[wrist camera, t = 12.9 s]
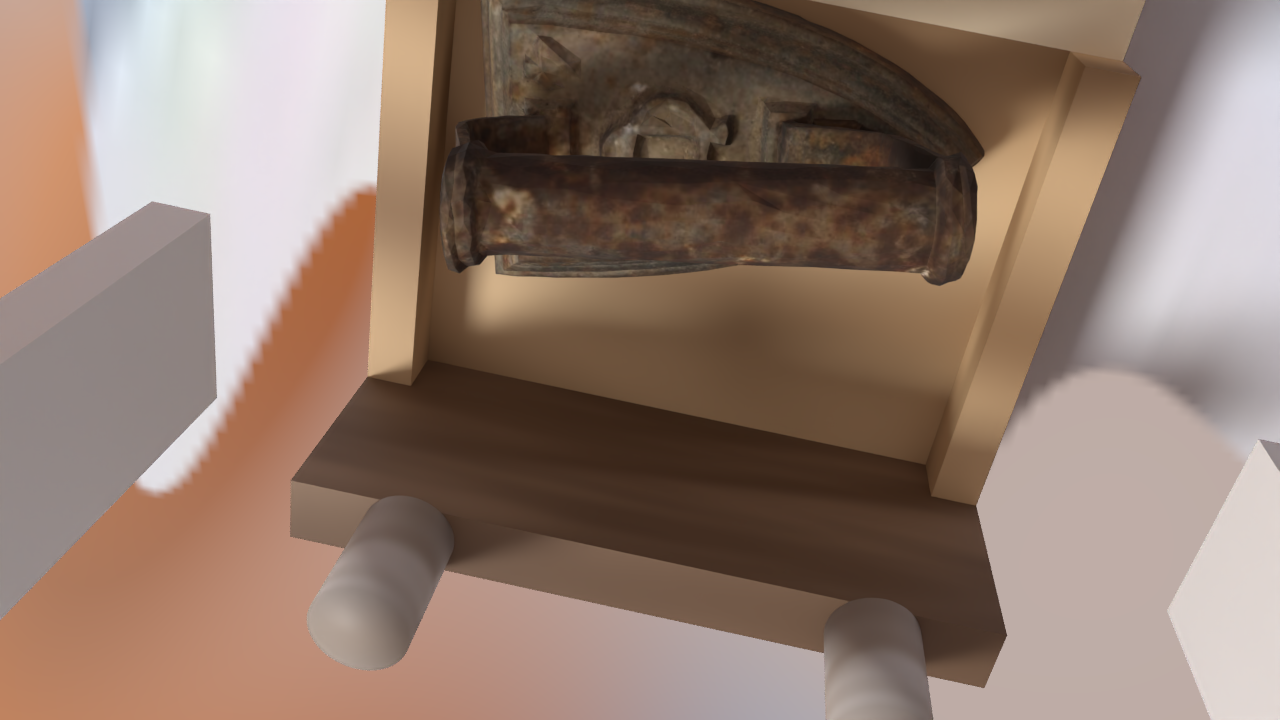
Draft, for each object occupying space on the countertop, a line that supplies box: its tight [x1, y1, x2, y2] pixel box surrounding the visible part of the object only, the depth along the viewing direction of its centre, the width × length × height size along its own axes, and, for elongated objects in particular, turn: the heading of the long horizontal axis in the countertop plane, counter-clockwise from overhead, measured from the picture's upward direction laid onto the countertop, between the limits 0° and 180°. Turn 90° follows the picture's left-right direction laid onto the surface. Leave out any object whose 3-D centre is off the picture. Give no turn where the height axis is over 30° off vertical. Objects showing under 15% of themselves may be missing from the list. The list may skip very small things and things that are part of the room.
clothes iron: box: [439, 0, 985, 286], centre depth 21 cm, size 7×11×10 cm, turn 90°
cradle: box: [290, 0, 1146, 720], centre depth 21 cm, size 20×15×10 cm
